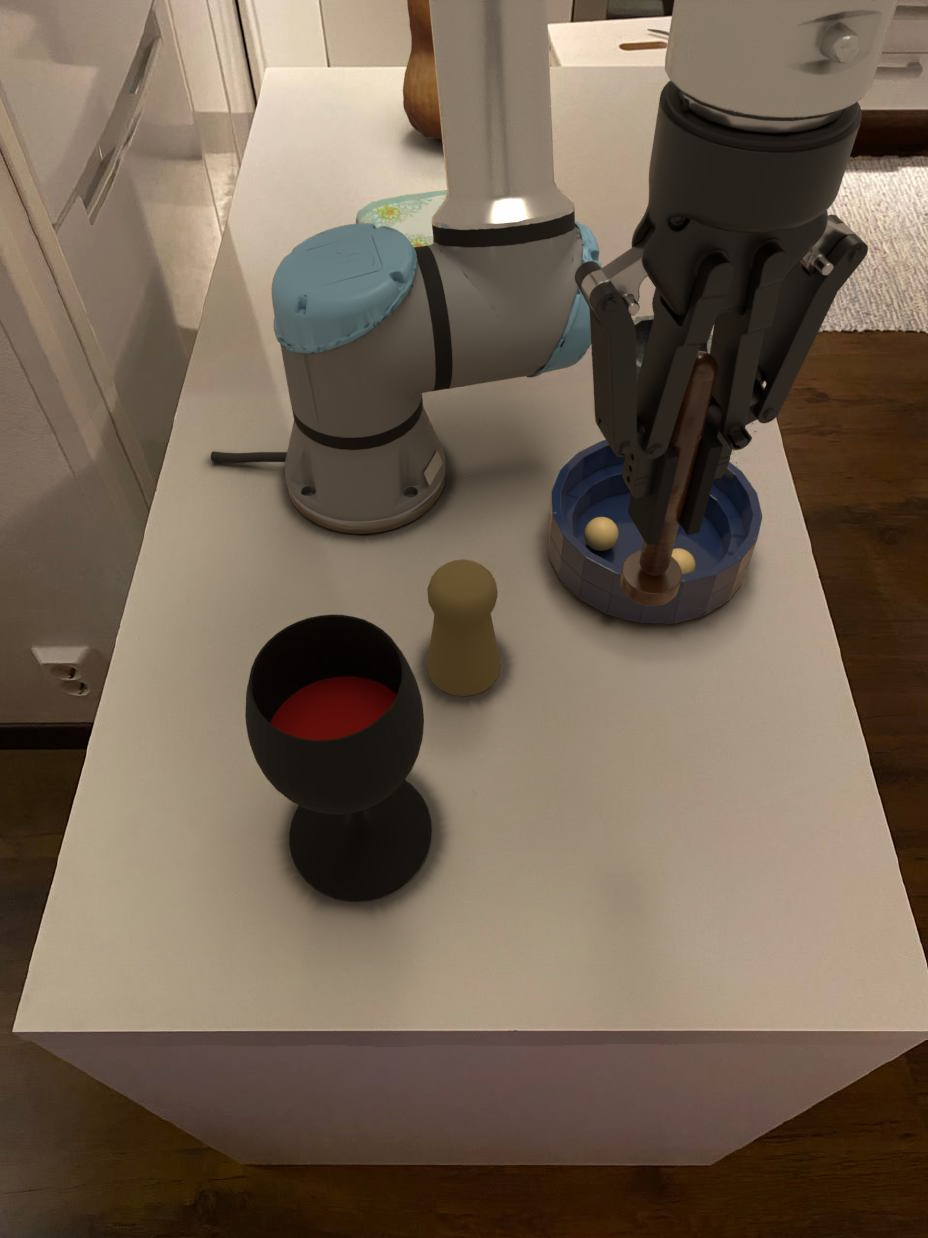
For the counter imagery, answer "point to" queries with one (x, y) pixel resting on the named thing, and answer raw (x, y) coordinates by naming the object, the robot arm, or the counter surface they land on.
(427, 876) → the counter surface
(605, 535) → the chickpea
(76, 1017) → the counter surface
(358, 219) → the towel
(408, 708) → the wine glass
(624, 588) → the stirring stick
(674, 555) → the chickpea
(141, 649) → the counter surface
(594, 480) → the bowl
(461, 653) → the cork
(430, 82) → the butternut squash
